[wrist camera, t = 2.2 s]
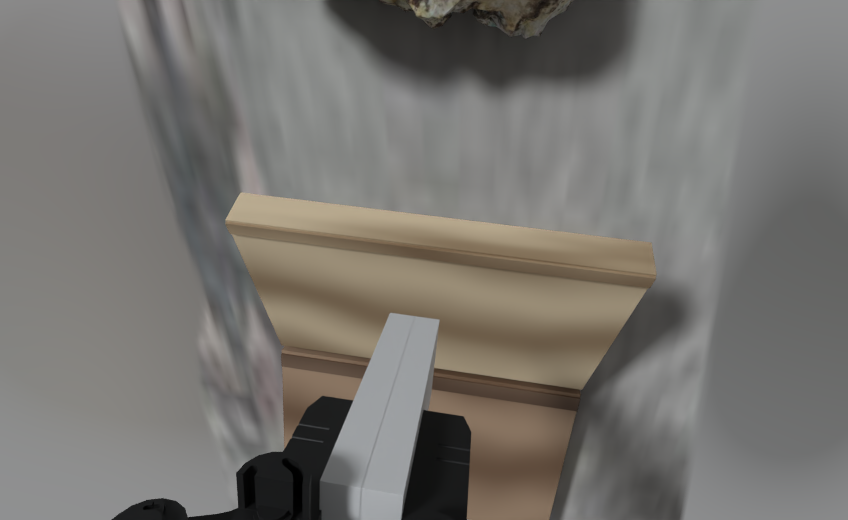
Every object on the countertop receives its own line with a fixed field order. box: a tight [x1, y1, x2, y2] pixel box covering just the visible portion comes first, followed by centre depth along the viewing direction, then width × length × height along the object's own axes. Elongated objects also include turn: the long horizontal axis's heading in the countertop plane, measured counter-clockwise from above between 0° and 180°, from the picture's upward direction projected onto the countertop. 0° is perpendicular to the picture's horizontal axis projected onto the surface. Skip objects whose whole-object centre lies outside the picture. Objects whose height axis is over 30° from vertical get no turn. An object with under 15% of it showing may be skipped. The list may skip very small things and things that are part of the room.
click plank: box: [225, 193, 657, 390], centre depth 23 cm, size 10×16×2 cm
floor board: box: [281, 346, 581, 520], centre depth 29 cm, size 10×16×2 cm, turn 85°
